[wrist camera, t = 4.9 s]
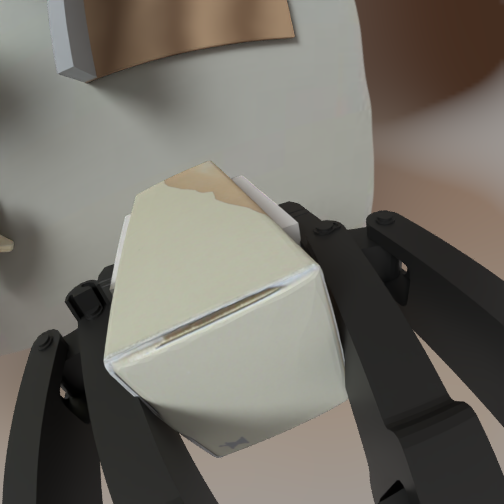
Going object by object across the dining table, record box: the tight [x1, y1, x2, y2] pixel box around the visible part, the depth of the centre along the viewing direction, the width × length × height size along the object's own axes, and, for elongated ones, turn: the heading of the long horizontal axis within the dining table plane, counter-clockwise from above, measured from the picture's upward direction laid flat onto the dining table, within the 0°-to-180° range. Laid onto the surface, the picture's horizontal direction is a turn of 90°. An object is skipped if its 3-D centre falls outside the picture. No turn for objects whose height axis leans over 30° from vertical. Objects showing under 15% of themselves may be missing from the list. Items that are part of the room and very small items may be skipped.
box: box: [104, 161, 348, 458], centre depth 11 cm, size 5×4×11 cm
